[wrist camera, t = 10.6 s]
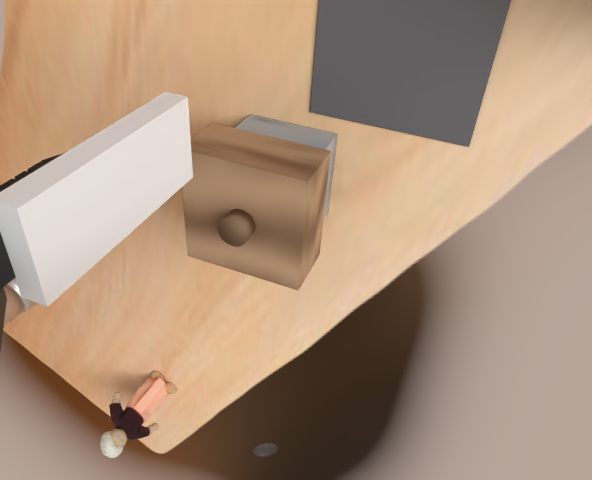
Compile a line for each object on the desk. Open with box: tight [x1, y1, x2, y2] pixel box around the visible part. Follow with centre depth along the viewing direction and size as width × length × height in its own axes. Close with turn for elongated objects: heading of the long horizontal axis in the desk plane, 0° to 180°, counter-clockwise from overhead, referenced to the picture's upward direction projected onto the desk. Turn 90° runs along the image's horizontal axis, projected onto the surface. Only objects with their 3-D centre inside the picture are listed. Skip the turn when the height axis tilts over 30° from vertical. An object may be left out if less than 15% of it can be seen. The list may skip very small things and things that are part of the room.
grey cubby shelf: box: [235, 115, 337, 220], centre depth 46 cm, size 8×8×5 cm
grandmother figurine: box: [100, 371, 177, 458], centre depth 72 cm, size 8×4×13 cm, turn 58°
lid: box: [182, 123, 331, 290], centre depth 42 cm, size 10×10×6 cm
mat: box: [310, 0, 511, 147], centre depth 38 cm, size 13×13×1 cm
